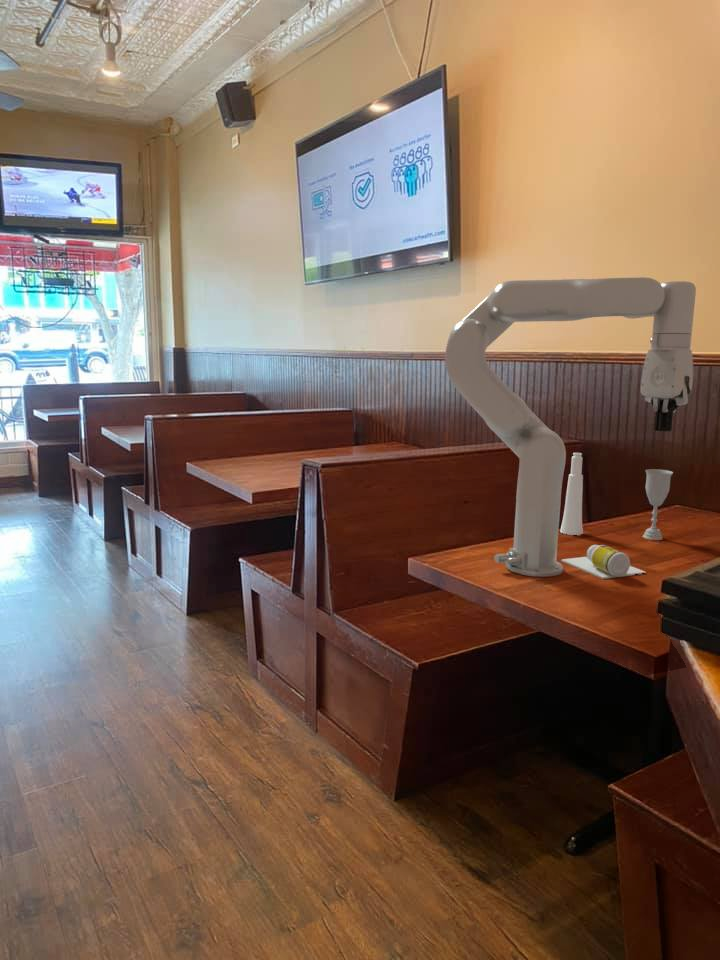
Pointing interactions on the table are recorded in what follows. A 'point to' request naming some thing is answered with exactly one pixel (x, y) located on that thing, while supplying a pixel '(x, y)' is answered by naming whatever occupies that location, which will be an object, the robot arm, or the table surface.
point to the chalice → (656, 497)
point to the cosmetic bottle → (574, 499)
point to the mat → (588, 567)
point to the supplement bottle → (609, 560)
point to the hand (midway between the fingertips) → (662, 430)
